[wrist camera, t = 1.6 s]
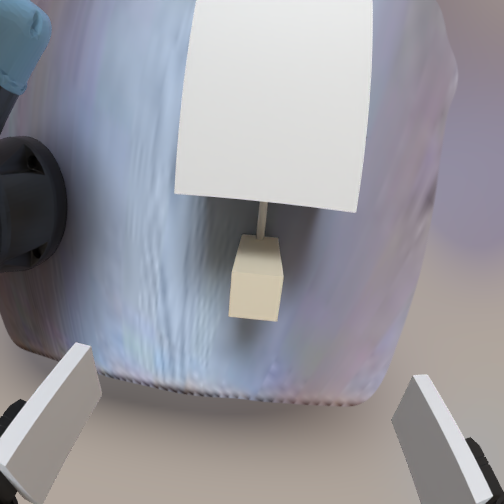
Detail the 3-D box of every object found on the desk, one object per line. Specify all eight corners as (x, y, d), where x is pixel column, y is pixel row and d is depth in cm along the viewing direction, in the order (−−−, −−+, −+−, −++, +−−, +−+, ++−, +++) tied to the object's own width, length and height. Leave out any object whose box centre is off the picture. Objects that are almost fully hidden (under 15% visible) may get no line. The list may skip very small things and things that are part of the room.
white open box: (205, 178, 27) (174, 193, 17) (223, 17, 22) (203, -38, 13) (324, 191, 27) (355, 212, 17) (339, 30, 22) (371, -19, 13)
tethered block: (223, 266, 29) (207, 314, 21) (244, 45, 23) (234, 1, 14) (288, 272, 29) (298, 323, 20) (313, 53, 23) (334, 12, 14)
